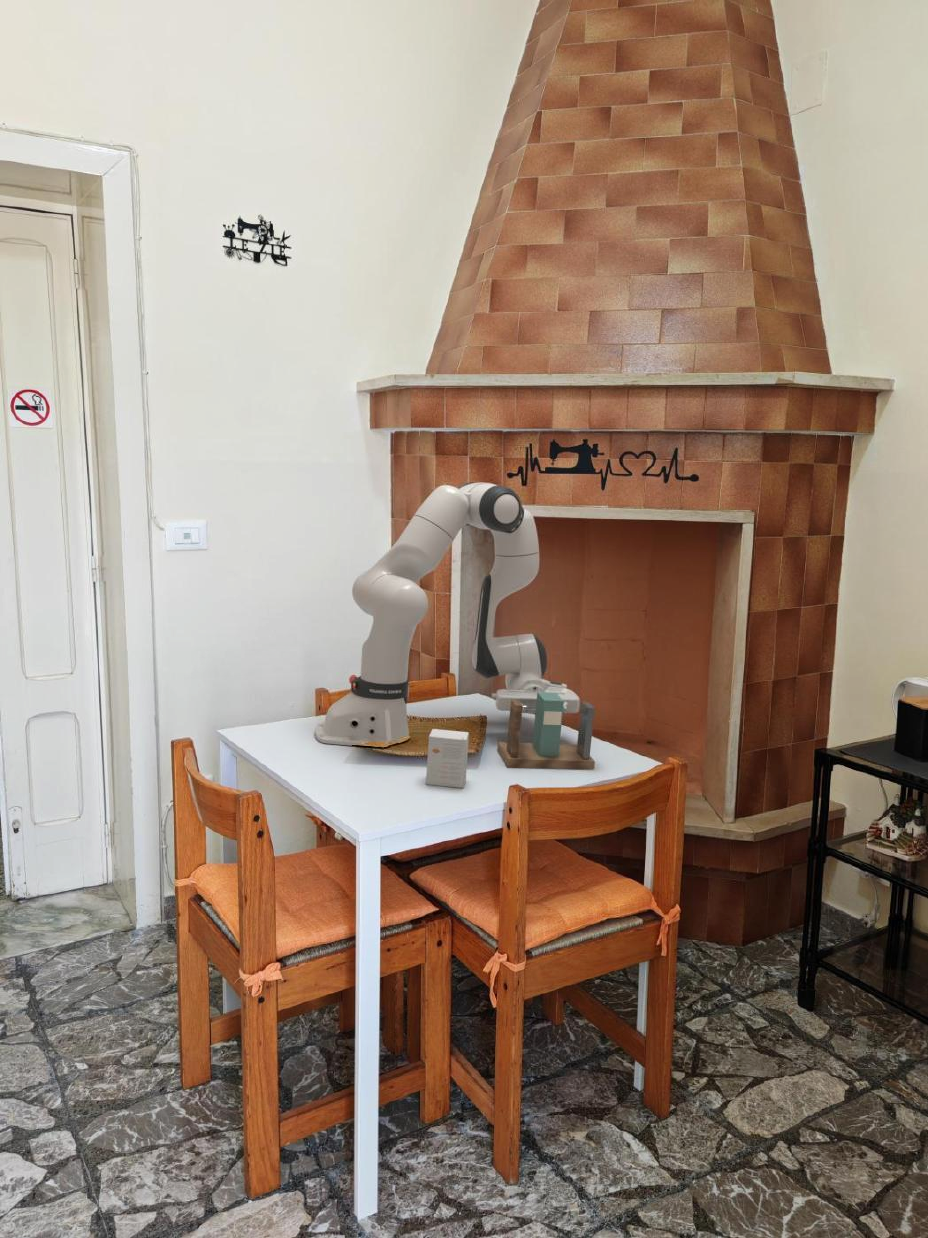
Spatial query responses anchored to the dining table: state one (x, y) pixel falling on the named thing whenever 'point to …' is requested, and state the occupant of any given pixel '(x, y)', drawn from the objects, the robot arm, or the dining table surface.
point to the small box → (447, 758)
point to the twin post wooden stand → (527, 756)
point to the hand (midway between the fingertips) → (543, 710)
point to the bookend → (585, 730)
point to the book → (547, 724)
